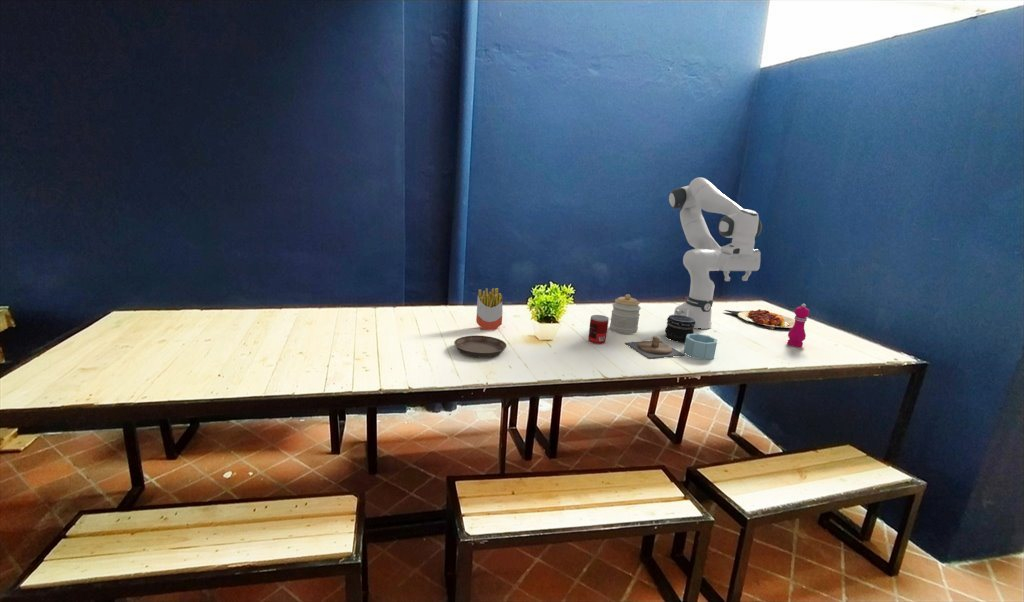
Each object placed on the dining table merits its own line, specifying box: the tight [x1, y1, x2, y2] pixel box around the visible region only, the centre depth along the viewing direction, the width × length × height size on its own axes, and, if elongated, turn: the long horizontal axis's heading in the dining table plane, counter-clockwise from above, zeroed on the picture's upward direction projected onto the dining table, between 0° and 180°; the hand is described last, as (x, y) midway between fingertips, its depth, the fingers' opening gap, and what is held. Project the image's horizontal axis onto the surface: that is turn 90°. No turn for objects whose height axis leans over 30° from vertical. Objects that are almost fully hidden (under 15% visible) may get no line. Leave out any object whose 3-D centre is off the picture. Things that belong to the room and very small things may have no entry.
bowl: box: [683, 333, 718, 360], centre depth 219 cm, size 12×12×7 cm
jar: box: [609, 293, 642, 335], centre depth 243 cm, size 13×13×18 cm
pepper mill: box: [787, 303, 811, 348], centre depth 239 cm, size 7×7×20 cm
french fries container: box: [475, 287, 503, 331], centre depth 231 cm, size 5×11×18 cm, turn 106°
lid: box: [638, 335, 673, 355], centre depth 220 cm, size 14×14×5 cm
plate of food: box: [723, 308, 795, 331], centre depth 277 cm, size 31×35×7 cm
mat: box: [624, 340, 686, 360], centre depth 221 cm, size 18×18×1 cm
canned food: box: [587, 314, 610, 345], centre depth 225 cm, size 8×8×11 cm
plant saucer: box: [453, 334, 508, 359], centre depth 206 cm, size 21×21×3 cm
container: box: [664, 314, 696, 343], centre depth 237 cm, size 13×13×10 cm
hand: (735, 280), depth 222 cm, fingers open, 8 cm apart
